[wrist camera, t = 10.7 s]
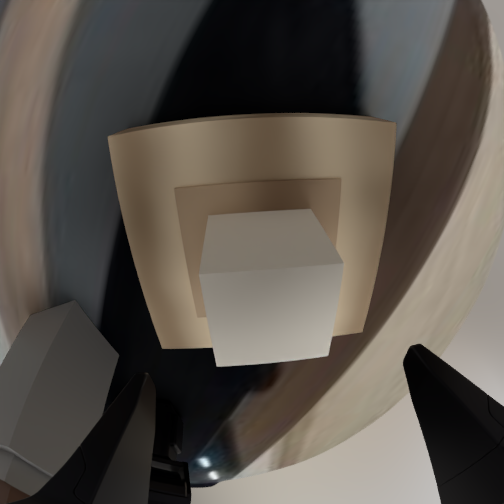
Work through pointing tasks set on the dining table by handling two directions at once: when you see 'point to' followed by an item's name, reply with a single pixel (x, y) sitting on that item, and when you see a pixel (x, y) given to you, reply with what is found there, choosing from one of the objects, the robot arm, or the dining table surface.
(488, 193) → the dining table surface
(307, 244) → the cream cube
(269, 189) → the oak base
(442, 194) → the dining table surface
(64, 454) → the perfume bottle
